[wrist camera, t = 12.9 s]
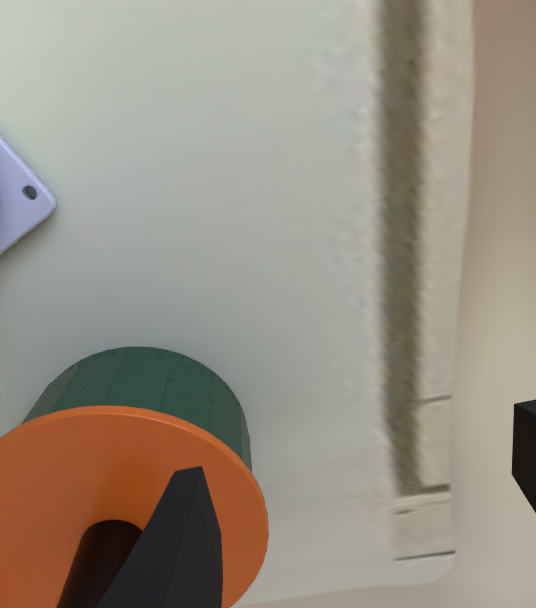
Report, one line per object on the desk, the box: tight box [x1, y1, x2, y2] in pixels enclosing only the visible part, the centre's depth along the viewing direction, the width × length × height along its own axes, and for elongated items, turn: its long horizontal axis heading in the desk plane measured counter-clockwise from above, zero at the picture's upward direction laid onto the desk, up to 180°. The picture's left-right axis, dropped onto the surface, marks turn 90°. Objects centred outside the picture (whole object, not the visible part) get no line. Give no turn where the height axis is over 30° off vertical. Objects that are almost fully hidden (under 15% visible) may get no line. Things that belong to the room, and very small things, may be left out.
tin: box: [21, 347, 252, 473], centre depth 19 cm, size 10×10×5 cm
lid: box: [0, 405, 269, 608], centre depth 15 cm, size 11×11×4 cm
